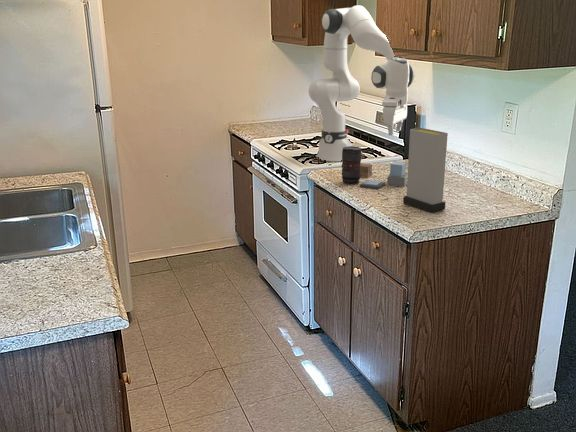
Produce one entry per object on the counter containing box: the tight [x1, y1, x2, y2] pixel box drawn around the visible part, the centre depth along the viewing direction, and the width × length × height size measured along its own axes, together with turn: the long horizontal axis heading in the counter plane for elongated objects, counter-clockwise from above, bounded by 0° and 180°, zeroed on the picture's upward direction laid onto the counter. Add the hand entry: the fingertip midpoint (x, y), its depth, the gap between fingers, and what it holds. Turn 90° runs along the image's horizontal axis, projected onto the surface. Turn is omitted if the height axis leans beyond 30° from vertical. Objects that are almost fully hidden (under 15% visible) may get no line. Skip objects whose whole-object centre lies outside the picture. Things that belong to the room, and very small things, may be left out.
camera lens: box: [341, 145, 363, 185], centre depth 250 cm, size 8×8×15 cm
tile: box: [359, 179, 386, 190], centre depth 247 cm, size 8×8×2 cm
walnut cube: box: [360, 163, 373, 179], centre depth 262 cm, size 5×5×5 cm
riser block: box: [386, 173, 408, 187], centre depth 249 cm, size 7×7×4 cm
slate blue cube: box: [389, 161, 407, 177], centre depth 248 cm, size 5×5×5 cm
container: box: [402, 127, 449, 213], centre depth 215 cm, size 7×18×30 cm, turn 34°
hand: (394, 133), depth 245 cm, fingers open, 8 cm apart
